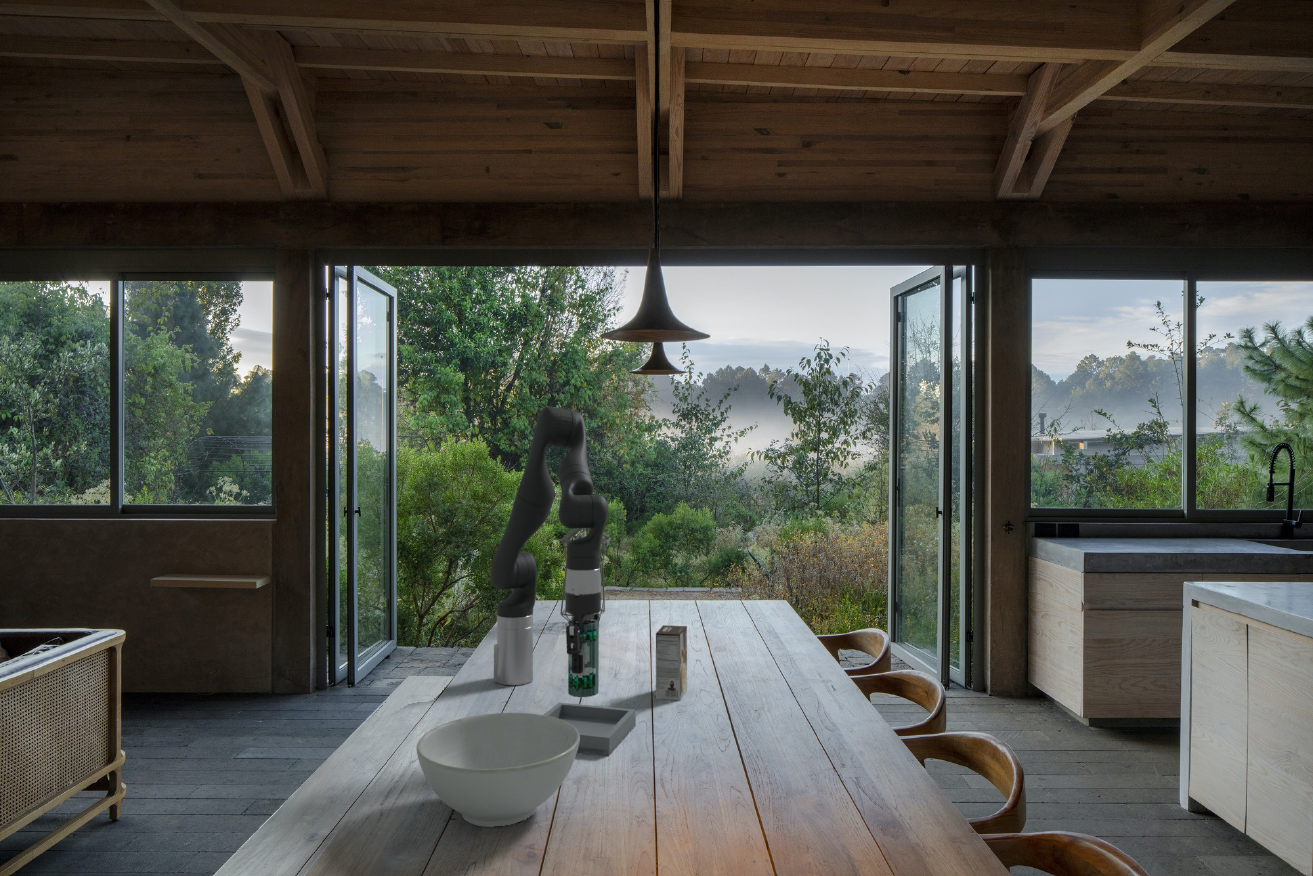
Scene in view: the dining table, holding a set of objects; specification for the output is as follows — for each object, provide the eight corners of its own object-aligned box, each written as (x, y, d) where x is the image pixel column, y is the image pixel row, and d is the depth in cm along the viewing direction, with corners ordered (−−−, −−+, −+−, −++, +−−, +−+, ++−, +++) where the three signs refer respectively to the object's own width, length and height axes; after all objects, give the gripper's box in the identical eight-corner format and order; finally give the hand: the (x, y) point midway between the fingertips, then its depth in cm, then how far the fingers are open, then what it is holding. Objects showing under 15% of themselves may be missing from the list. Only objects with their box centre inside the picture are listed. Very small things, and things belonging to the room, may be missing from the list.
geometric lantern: (565, 620, 286) (569, 520, 287) (610, 623, 284) (613, 522, 285) (554, 630, 271) (557, 524, 271) (600, 632, 268) (604, 525, 269)
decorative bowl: (432, 780, 149) (433, 714, 150) (580, 776, 152) (580, 710, 152) (399, 853, 123) (399, 772, 123) (578, 846, 125) (579, 767, 125)
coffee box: (662, 688, 207) (662, 624, 207) (687, 689, 205) (687, 625, 206) (655, 699, 198) (655, 632, 198) (681, 701, 196) (681, 633, 197)
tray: (525, 746, 166) (525, 729, 166) (558, 718, 184) (558, 702, 184) (609, 755, 162) (609, 737, 162) (635, 725, 179) (635, 709, 179)
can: (563, 695, 171) (564, 623, 171) (576, 687, 177) (576, 617, 177) (590, 698, 169) (590, 625, 169) (602, 690, 175) (602, 619, 175)
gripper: (578, 583, 181) (578, 659, 181) (553, 594, 167) (553, 676, 167) (610, 584, 179) (610, 661, 179) (588, 596, 165) (588, 679, 165)
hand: (583, 668), depth 173 cm, fingers closed on can, 6 cm apart
